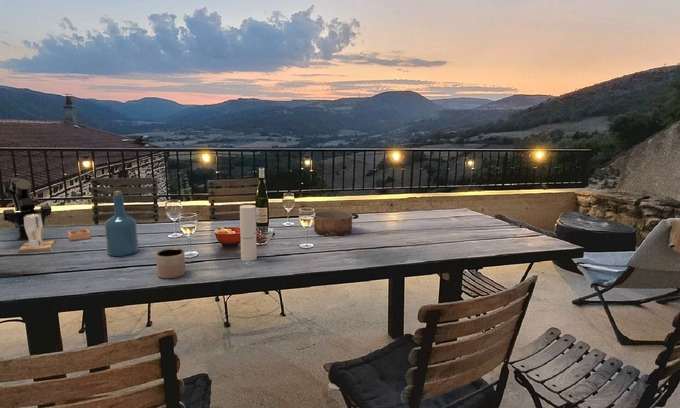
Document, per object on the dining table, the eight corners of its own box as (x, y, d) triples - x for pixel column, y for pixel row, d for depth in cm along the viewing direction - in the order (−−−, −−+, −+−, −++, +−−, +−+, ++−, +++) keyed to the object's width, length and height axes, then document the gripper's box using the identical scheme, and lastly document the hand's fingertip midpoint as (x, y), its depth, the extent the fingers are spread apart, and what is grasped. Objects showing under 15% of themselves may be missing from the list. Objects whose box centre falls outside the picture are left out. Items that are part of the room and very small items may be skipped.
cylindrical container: (259, 257, 187) (258, 205, 182) (251, 261, 181) (250, 208, 176) (246, 255, 189) (245, 204, 184) (238, 259, 183) (236, 207, 178)
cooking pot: (308, 237, 222) (308, 219, 220) (307, 227, 243) (307, 210, 241) (360, 237, 225) (361, 218, 223) (355, 227, 247) (355, 210, 245)
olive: (76, 236, 210) (75, 230, 210) (83, 235, 212) (82, 230, 211) (75, 237, 208) (74, 232, 207) (82, 237, 209) (81, 231, 209)
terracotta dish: (68, 237, 210) (67, 231, 210) (87, 234, 216) (87, 228, 215) (70, 241, 204) (69, 235, 203) (90, 238, 210) (90, 232, 209)
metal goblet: (31, 248, 187) (27, 218, 184) (24, 246, 190) (20, 216, 187) (48, 245, 193) (44, 215, 190) (41, 242, 196) (37, 213, 193)
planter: (162, 269, 169) (161, 248, 167) (188, 269, 170) (187, 248, 168) (153, 279, 158) (151, 256, 156) (181, 279, 159) (179, 256, 157)
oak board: (26, 244, 197) (25, 242, 197) (55, 242, 202) (54, 239, 202) (18, 253, 185) (18, 250, 184) (49, 250, 190) (49, 247, 190)
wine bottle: (125, 258, 181) (119, 194, 175) (100, 255, 184) (93, 192, 178) (145, 249, 194) (140, 189, 188) (122, 247, 197) (116, 188, 191)
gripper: (0, 193, 186) (7, 221, 181) (48, 189, 199) (56, 214, 195) (0, 207, 193) (7, 233, 188) (46, 202, 206) (54, 226, 201)
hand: (32, 226), depth 193 cm, fingers open, 9 cm apart
